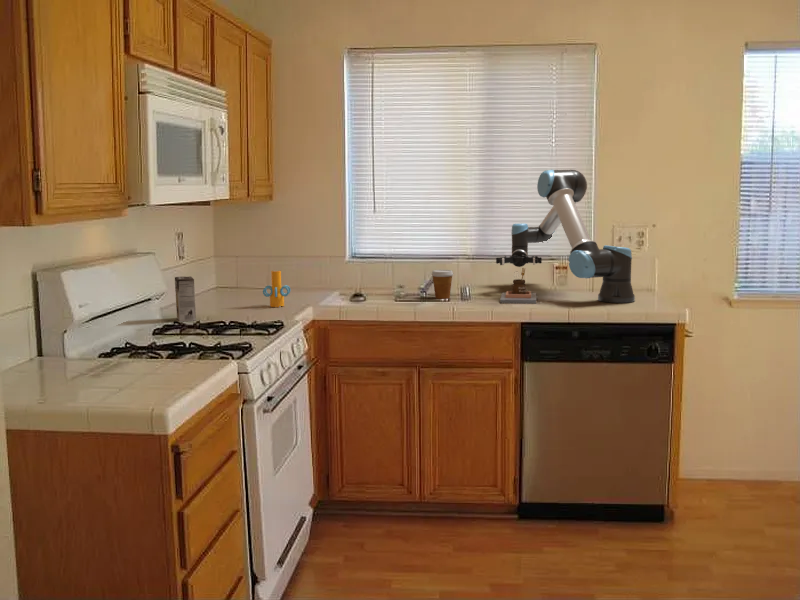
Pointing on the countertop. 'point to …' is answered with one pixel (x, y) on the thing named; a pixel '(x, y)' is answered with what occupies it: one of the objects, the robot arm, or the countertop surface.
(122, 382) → the countertop surface
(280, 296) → the cylinder
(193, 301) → the coffee box
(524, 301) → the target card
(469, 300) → the countertop surface
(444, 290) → the disposable coffee cup
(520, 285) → the utensil holder
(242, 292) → the countertop surface
